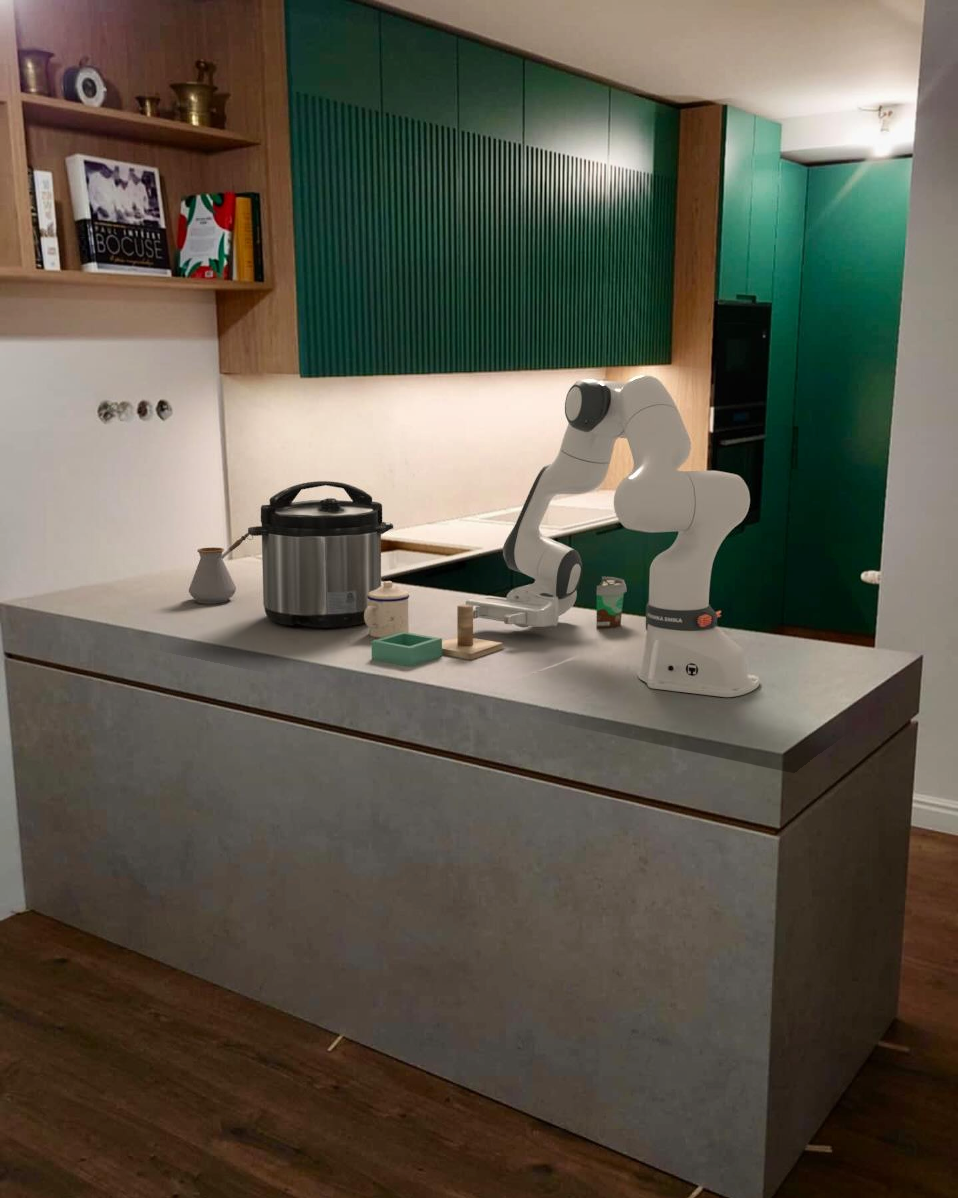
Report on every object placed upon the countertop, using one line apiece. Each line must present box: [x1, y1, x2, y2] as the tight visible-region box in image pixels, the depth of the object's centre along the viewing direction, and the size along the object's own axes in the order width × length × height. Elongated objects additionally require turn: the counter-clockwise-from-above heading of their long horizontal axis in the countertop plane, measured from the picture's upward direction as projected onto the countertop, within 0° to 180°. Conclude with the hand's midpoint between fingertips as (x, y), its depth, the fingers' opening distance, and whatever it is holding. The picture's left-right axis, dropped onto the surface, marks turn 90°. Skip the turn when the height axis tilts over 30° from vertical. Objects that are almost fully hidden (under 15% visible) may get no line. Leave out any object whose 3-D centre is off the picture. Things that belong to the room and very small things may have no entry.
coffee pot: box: [188, 532, 254, 605], centre depth 297 cm, size 21×12×15 cm, turn 152°
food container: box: [595, 576, 628, 630], centre depth 267 cm, size 12×6×10 cm, turn 168°
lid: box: [442, 604, 504, 661], centre depth 242 cm, size 11×11×9 cm
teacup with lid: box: [364, 580, 410, 639], centre depth 257 cm, size 12×9×12 cm
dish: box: [370, 632, 443, 667], centre depth 237 cm, size 10×10×4 cm
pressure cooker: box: [247, 480, 394, 629], centre depth 272 cm, size 30×28×32 cm
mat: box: [442, 647, 506, 662], centre depth 243 cm, size 12×12×1 cm
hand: (488, 617), depth 249 cm, fingers open, 8 cm apart
